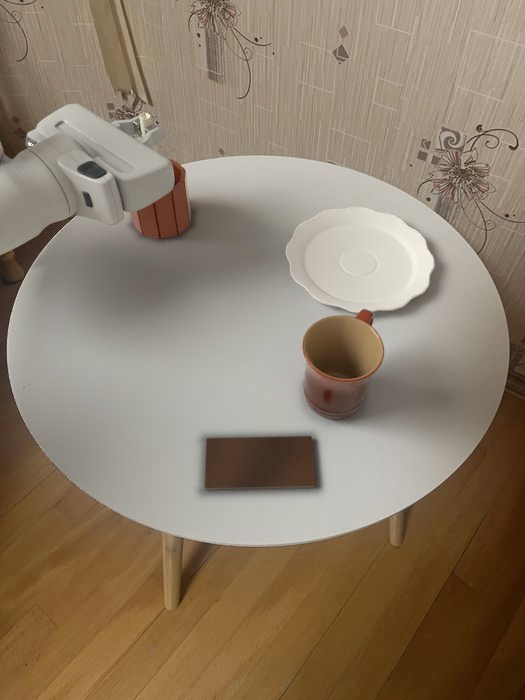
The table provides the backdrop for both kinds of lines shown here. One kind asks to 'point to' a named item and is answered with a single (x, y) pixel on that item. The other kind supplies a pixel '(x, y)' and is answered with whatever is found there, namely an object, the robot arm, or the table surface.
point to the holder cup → (166, 210)
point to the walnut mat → (259, 463)
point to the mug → (340, 363)
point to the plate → (360, 259)
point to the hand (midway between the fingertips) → (152, 126)
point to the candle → (146, 125)
